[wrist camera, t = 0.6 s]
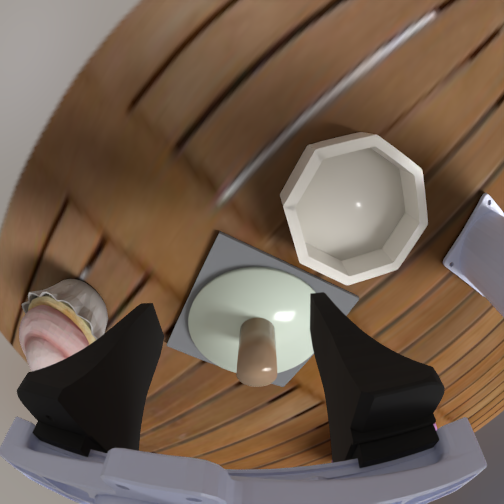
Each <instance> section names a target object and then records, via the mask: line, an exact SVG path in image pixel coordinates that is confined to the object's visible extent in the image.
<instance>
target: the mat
mask: <svg viewBox="0 0 504 504" xmlns="http://www.w3.org/2000/svg"><path fill="white" fill-rule="evenodd" d="M244 267H270V268H276V269H280V270H284V271H286V272H289V273H292V274H294V275H296V276H298V277H299V278H301V279H303V280H304V281H305V282H307V283H308V284H309V285H310V286H311V287H312V288H313V289H314V290H315V291H316V293H320V292H324V293H326V294H327V296H328V297H329V298H330V299H331V300H332V301H333V303H334V304H335V305H336V306H337V307H338V308H339V309H340V310H341V311H342V312H343V313H344V314H345V315H347V314H348V313H349V311H350V310H351V309H352V308H353V306H354V305H355V304H356V303H357V301H358V300H359V297H358V296H357V295H355V294H353V293H351V292H349V291H346V290H344V289H342V288H340V287H338V286H336V285H334V284H332V283H330V282H327V281H325V280H323V279H321V278H319V277H317V276H315V275H313V274H310V273H308V272H306V271H304V270H302V269H300V268H298V267H296V266H293V265H291V264H289V263H287V262H285V261H283V260H281V259H279V258H276V257H274V256H272V255H270V254H268V253H266V252H264V251H261V250H259V249H257V248H255V247H253V246H251V245H249V244H246V243H244V242H242V241H240V240H238V239H236V238H234V237H231V236H229V235H227V234H225V233H223V232H221V231H220V232H219V234H218V236H217V238H216V240H215V242H214V244H213V246H212V248H211V250H210V252H209V254H208V256H207V258H206V260H205V263H204V265H203V267H202V269H201V271H200V273H199V275H198V277H197V279H196V281H195V284H194V286H193V288H192V290H191V292H190V294H189V296H188V299H187V301H186V303H185V305H184V307H183V309H182V312H181V314H180V316H179V318H178V320H177V323H176V325H175V327H174V329H173V332H172V334H171V336H170V338H169V340H168V343H167V346H169V347H171V348H173V349H176V350H178V351H181V352H183V353H186V354H188V355H191V356H193V357H196V358H198V359H201V360H204V361H206V362H209V363H212V364H214V363H213V362H211V361H210V360H208V359H207V358H206V357H205V356H204V355H203V354H202V353H201V352H200V351H199V350H198V349H197V347H196V346H195V344H194V342H193V340H192V338H191V335H190V332H189V327H188V317H189V312H190V309H191V306H192V303H193V301H194V299H195V297H196V295H197V294H198V292H199V291H200V290H201V289H202V288H203V287H204V286H205V285H206V284H207V283H208V282H210V281H211V280H213V279H214V278H215V277H217V276H219V275H221V274H223V273H226V272H229V271H231V270H235V269H239V268H244ZM313 354H314V353H313ZM313 354H312V355H313ZM312 355H311V356H310V357H309V358H308V359H307V360H305V361H304V362H303V363H301V364H299V365H298V366H296V367H294V368H291V369H289V370H286V371H283V372H280V373H277V378H276V379H275V381H273V382H272V383H271V384H275V385H278V386H282V387H284V386H285V385H286V384H287V383H288V382H289V381H290V379H291V378H292V377H293V376H294V375H295V374H296V373H297V372H298V371H299V370H300V369H301V368H302V367H303V365H304V364H305V363H306V362H307V361H308V360H309V359H310V358H311V357H312ZM214 365H216V364H214ZM217 366H218V365H217Z"/></svg>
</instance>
